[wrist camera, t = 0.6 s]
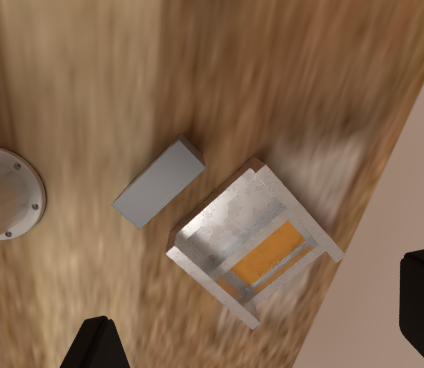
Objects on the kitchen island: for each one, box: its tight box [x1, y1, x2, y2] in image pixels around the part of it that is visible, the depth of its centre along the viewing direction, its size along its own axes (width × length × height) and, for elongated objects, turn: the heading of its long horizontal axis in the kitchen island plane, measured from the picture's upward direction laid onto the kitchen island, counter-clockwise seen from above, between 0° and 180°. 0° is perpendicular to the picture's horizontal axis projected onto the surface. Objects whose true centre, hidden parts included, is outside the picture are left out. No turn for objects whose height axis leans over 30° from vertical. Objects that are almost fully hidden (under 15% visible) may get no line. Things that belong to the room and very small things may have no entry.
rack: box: [166, 156, 346, 330], centre depth 36 cm, size 16×16×6 cm
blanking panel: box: [112, 134, 206, 230], centre depth 31 cm, size 10×4×8 cm, turn 133°
